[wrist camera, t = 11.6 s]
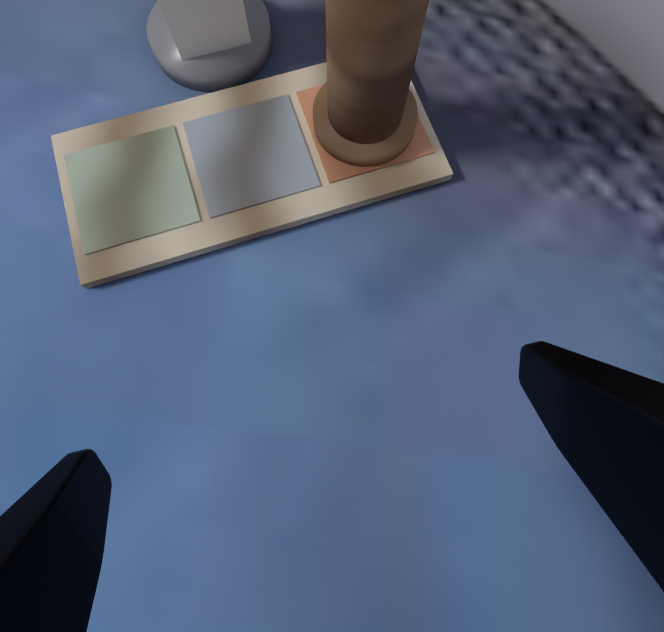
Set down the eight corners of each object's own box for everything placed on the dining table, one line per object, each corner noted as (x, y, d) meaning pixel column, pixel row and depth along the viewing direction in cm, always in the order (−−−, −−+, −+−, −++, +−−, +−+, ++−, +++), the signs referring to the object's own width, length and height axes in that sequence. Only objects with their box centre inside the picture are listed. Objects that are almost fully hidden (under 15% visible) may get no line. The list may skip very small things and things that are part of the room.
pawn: (430, 101, 24) (536, -244, 11) (389, 182, 23) (458, -105, 10) (340, 65, 24) (347, -301, 12) (295, 142, 23) (252, -176, 11)
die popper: (254, -15, 27) (236, -119, 22) (286, 73, 25) (275, -17, 20) (143, 12, 26) (98, -88, 21) (170, 105, 24) (127, 20, 19)
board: (393, 52, 25) (395, 42, 25) (450, 179, 23) (453, 172, 23) (57, 142, 24) (49, 134, 23) (87, 288, 22) (79, 284, 21)
